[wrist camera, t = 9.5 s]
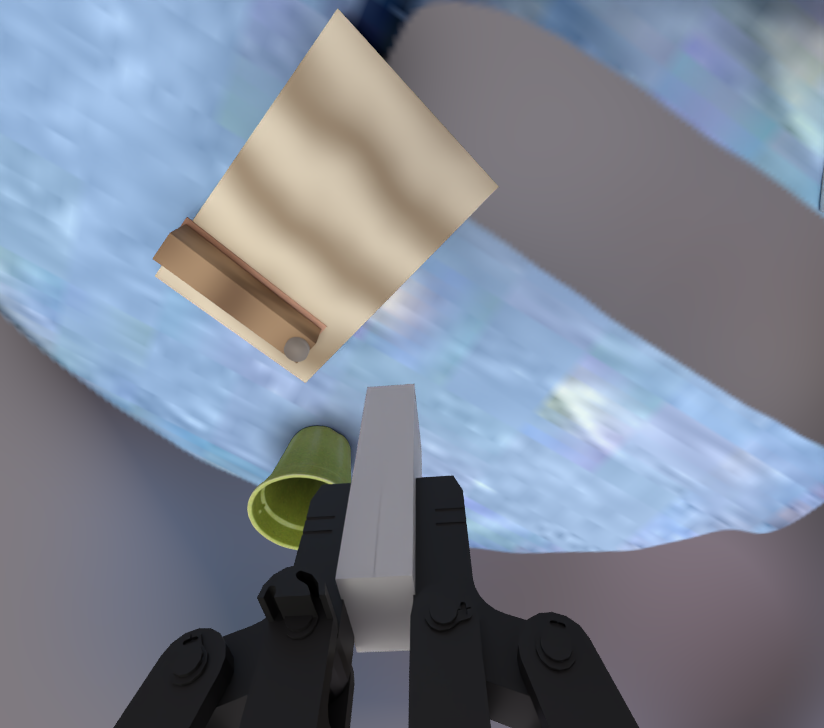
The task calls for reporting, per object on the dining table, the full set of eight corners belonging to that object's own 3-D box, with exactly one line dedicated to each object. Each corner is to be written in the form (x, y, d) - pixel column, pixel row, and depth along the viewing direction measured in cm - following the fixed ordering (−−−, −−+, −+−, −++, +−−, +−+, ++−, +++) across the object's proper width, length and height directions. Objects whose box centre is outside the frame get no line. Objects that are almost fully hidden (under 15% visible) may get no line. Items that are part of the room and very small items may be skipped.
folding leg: (322, 330, 36) (315, 348, 33) (304, 349, 37) (296, 368, 34) (185, 224, 32) (165, 235, 29) (168, 248, 33) (147, 261, 30)
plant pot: (261, 416, 44) (231, 482, 37) (356, 405, 43) (344, 469, 36) (289, 485, 49) (267, 555, 41) (374, 475, 48) (368, 545, 41)
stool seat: (338, 9, 28) (331, 1, 26) (493, 180, 33) (499, 187, 31) (165, 262, 36) (149, 273, 34) (310, 367, 41) (304, 383, 39)
